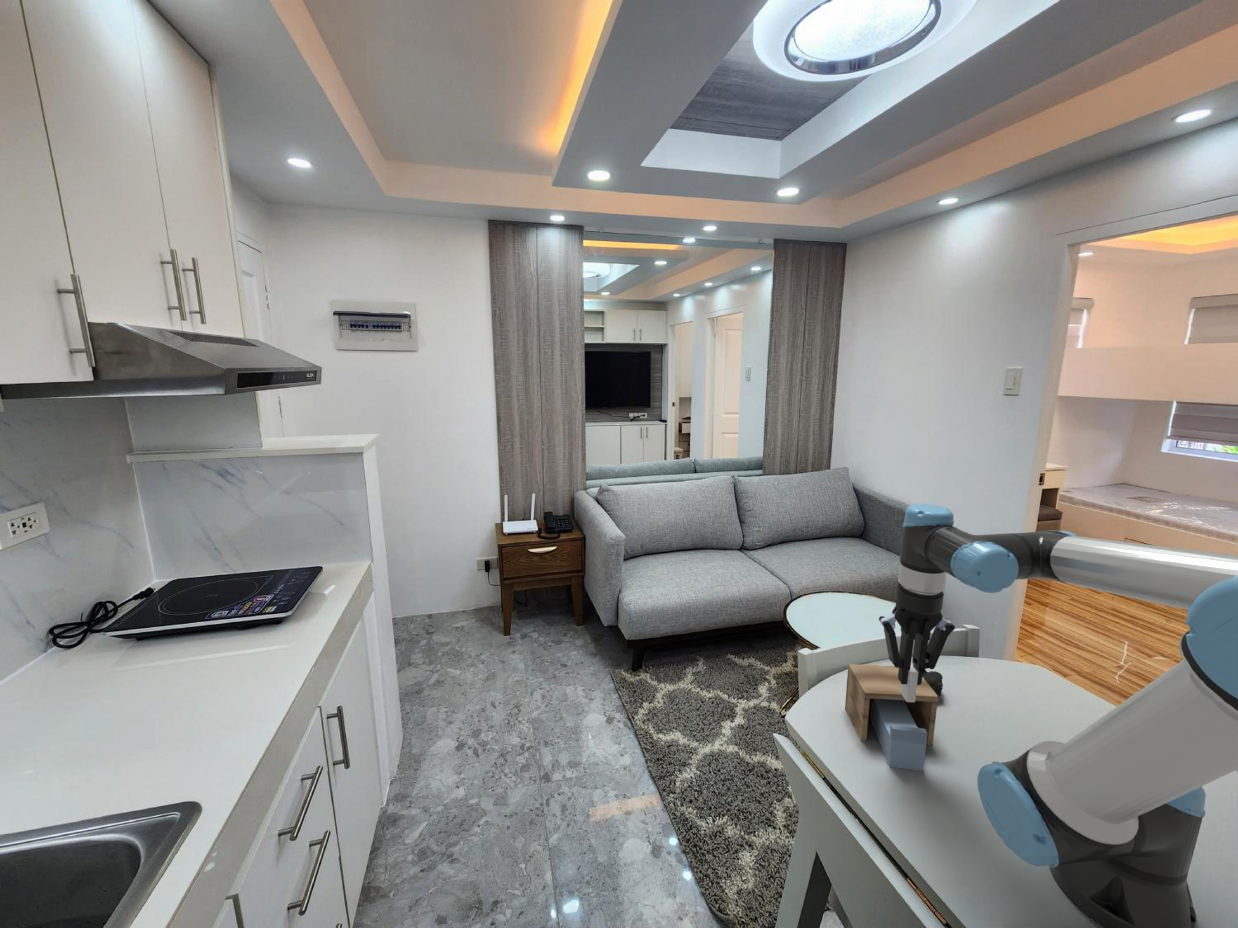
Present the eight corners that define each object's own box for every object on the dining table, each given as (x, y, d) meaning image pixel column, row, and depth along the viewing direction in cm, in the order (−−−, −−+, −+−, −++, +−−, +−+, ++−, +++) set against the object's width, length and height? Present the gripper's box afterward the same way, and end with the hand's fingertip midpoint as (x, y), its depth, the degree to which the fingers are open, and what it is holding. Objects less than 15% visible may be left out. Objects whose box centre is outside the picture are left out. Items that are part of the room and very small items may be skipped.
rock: (948, 716, 109) (951, 693, 108) (902, 707, 112) (905, 684, 111) (937, 689, 119) (939, 667, 118) (895, 682, 122) (897, 660, 121)
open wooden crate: (932, 744, 101) (938, 696, 99) (861, 740, 103) (865, 692, 101) (909, 711, 111) (914, 666, 109) (845, 708, 112) (848, 663, 110)
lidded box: (922, 771, 95) (927, 733, 93) (888, 766, 96) (892, 728, 95) (899, 721, 108) (903, 686, 107) (870, 717, 110) (873, 683, 108)
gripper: (946, 578, 95) (933, 686, 100) (875, 576, 96) (865, 683, 101) (969, 597, 88) (953, 712, 93) (892, 594, 89) (880, 708, 94)
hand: (907, 697), depth 97 cm, fingers closed
